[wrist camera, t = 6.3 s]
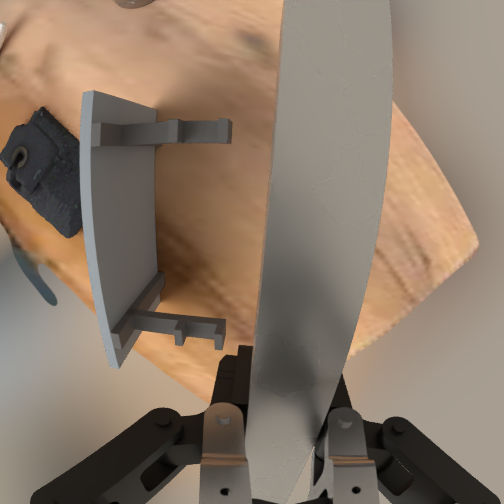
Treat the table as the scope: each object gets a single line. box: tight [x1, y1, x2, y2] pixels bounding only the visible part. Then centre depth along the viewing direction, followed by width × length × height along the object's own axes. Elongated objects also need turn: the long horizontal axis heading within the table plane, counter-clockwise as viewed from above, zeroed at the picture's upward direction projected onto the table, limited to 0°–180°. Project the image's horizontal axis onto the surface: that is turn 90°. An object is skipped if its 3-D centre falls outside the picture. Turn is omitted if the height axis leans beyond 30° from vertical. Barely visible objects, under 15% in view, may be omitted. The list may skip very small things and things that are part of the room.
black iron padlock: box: [0, 107, 83, 238], centre depth 35 cm, size 15×22×5 cm
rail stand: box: [80, 90, 232, 369], centre depth 31 cm, size 28×13×16 cm, turn 177°
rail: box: [245, 0, 393, 504], centre depth 10 cm, size 26×2×3 cm, turn 176°
